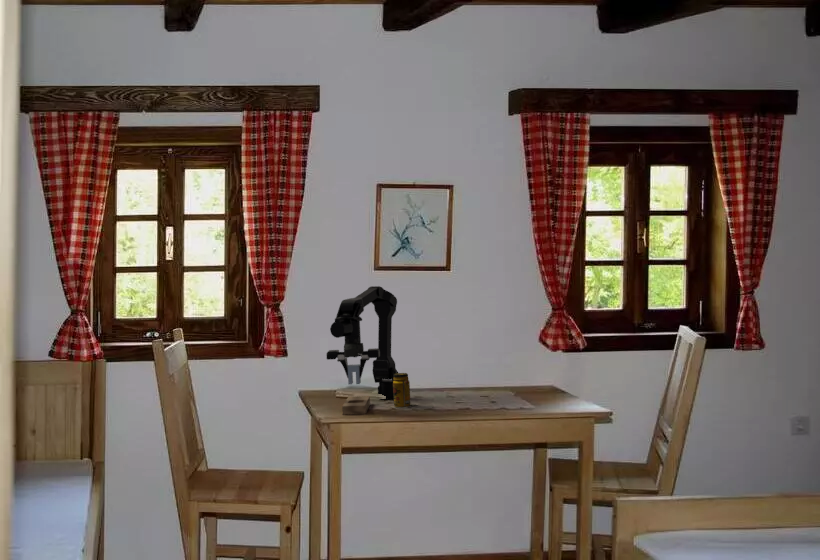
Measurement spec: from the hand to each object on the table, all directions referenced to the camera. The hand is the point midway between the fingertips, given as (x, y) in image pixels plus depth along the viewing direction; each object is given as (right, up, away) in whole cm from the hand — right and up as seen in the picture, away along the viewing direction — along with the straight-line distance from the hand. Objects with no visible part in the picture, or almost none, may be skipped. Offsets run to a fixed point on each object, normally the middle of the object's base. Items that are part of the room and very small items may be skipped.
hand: (354, 377), depth 377 cm
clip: (0, -2, 0) cm, 2 cm away
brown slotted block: (+1, -11, +1) cm, 12 cm away
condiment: (+18, -11, +4) cm, 21 cm away
